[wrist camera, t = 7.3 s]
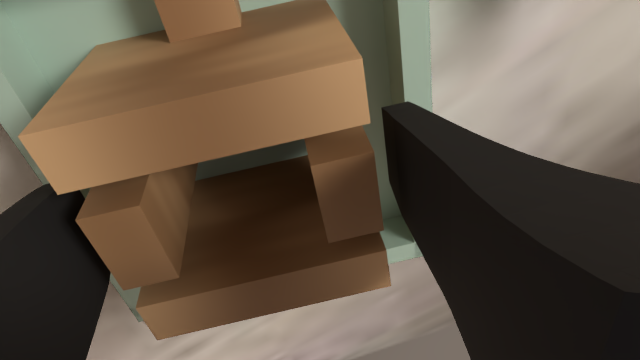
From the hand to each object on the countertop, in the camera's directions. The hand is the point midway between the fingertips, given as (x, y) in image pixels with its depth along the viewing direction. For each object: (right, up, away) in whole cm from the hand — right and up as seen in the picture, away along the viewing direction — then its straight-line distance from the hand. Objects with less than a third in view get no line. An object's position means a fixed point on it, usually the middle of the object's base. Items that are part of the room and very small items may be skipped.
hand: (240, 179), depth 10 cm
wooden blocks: (0, +2, +2) cm, 3 cm away
